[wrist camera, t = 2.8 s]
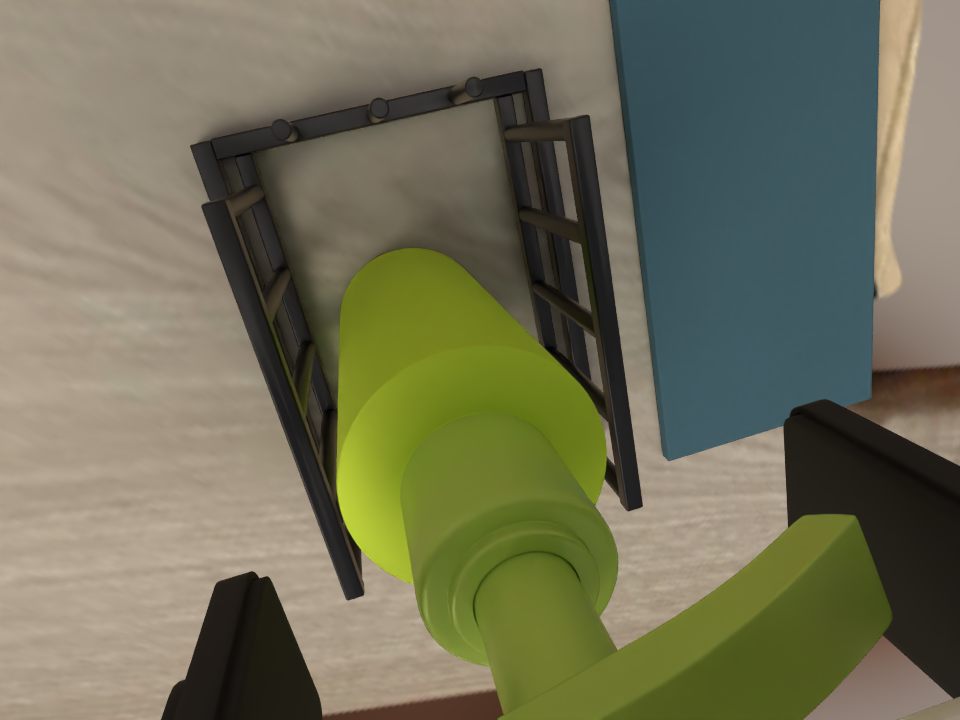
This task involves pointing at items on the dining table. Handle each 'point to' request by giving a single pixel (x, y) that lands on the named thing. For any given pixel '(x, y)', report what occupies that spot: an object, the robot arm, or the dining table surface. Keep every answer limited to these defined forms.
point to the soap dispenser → (557, 524)
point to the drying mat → (752, 205)
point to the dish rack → (588, 231)
